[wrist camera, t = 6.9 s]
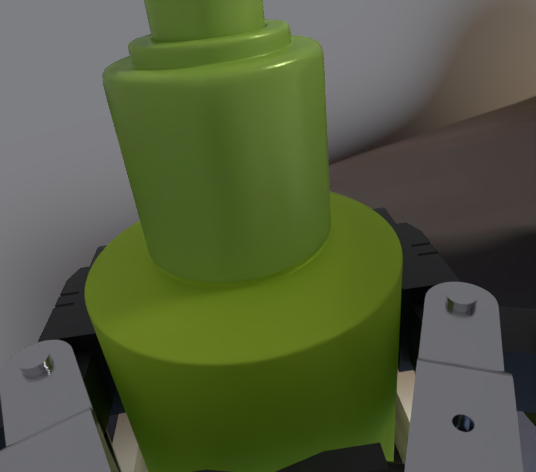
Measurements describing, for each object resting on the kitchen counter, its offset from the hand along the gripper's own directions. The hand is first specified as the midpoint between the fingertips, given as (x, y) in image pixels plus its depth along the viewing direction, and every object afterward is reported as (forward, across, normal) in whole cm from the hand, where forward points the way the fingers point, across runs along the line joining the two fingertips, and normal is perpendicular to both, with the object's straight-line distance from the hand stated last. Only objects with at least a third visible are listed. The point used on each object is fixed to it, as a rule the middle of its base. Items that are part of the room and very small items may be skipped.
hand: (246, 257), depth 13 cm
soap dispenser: (-2, 0, +11) cm, 11 cm away
